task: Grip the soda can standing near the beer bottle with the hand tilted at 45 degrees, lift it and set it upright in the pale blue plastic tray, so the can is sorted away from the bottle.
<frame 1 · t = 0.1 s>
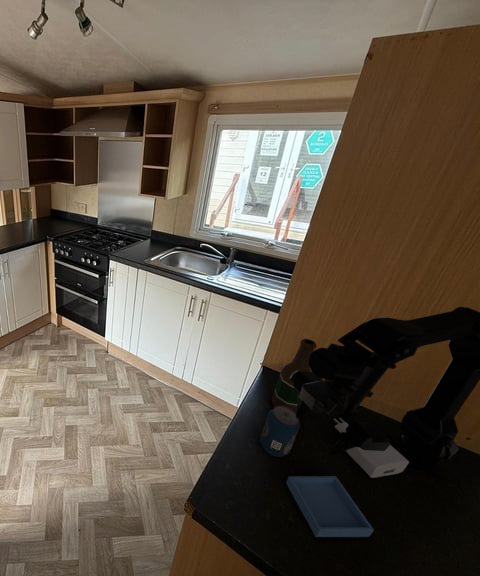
hand: (313, 434, 67), 15 cm above the worktop, tool pointing down, fingers open, 9 cm apart
soda can: (273, 447, 82), on the worktop
charger: (357, 448, 82), on the worktop
beer bottle: (284, 407, 94), on the worktop
blue tray: (324, 508, 69), on the worktop
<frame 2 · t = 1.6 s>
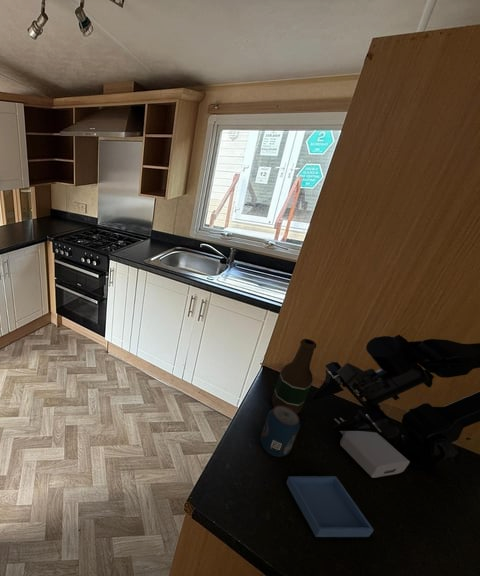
hand: (322, 413, 75), 13 cm above the worktop, tool tilted 45°, fingers open, 9 cm apart
nothing on the worktop moved.
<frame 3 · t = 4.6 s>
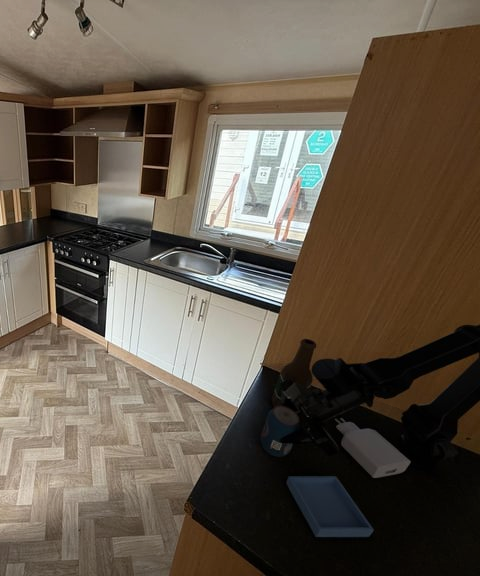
hand: (274, 429, 79), 7 cm above the worktop, tool tilted 45°, fingers closed on soda can, 7 cm apart
soda can: (273, 447, 82), on the worktop, touching gripper
everything else where it was.
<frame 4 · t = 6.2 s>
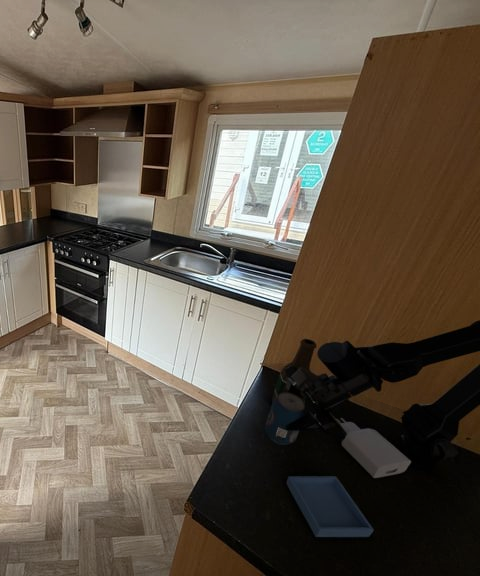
hand: (279, 416, 77), 11 cm above the worktop, tool tilted 45°, fingers closed on soda can, 7 cm apart
soda can: (278, 435, 80), point 4 cm above the worktop, touching gripper
everything else where it was.
when the fingers open (7 cm above the worktop, at t = 12.6 s): soda can stays where it is, resting on blue tray.
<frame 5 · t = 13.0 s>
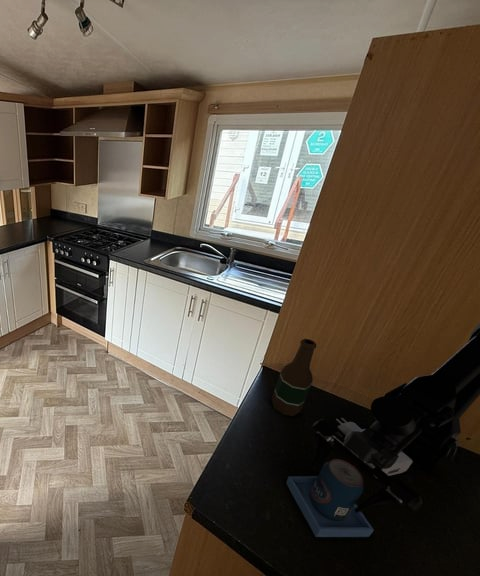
hand: (332, 489, 65), 8 cm above the worktop, tool tilted 45°, fingers open, 9 cm apart
soda can: (325, 507, 68), resting on blue tray
everything else where it was.
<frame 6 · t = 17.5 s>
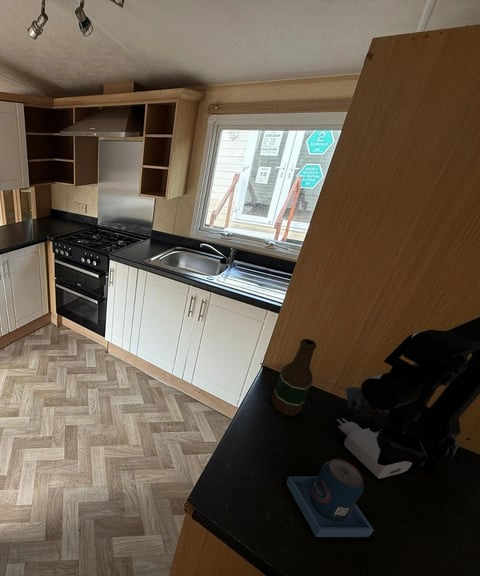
hand: (376, 446, 68), 13 cm above the worktop, tool pointing down, fingers open, 9 cm apart
at the end: soda can 0.2 cm off-centre in the blue tray, point 0.4 cm above the blue tray's base; soda can tilted 0°; beer bottle moved 0.2 cm from its start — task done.
